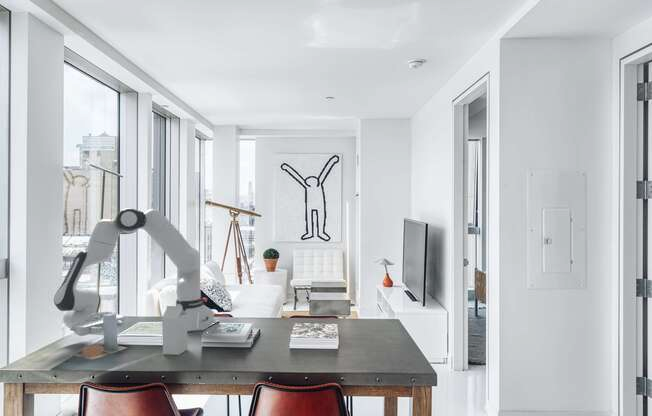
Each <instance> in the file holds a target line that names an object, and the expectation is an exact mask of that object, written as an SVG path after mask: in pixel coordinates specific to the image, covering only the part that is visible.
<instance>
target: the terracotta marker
mask: <svg viewBox="0 0 652 416" xmlns="http://www.w3.org/2000/svg"><path fill="white" fill-rule="evenodd" d="M102 347H103V346H102V345H98V344H96V343H95V344H91V345H88V346H85V347H82V353H83V356H87V357H94V356H97V355H100V354H102Z"/></svg>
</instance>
